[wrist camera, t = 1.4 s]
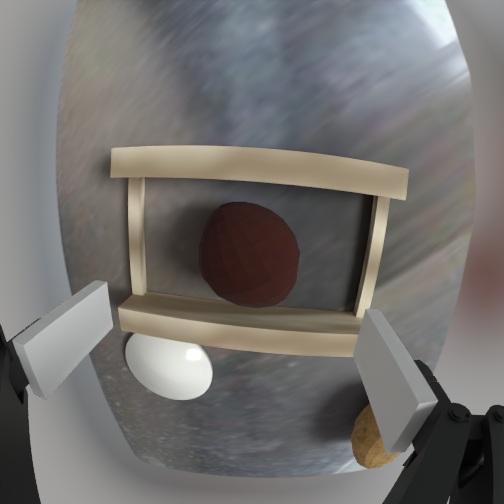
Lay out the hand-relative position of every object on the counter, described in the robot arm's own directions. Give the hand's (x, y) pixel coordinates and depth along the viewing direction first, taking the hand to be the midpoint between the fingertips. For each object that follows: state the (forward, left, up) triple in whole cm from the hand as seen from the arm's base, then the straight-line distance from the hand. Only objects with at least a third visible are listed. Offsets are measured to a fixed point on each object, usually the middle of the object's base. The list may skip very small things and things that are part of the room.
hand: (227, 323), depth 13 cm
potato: (+21, +19, -14) cm, 31 cm away
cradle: (0, 0, -14) cm, 14 cm away
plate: (+15, -9, -14) cm, 22 cm away
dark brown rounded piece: (0, 0, -14) cm, 14 cm away
